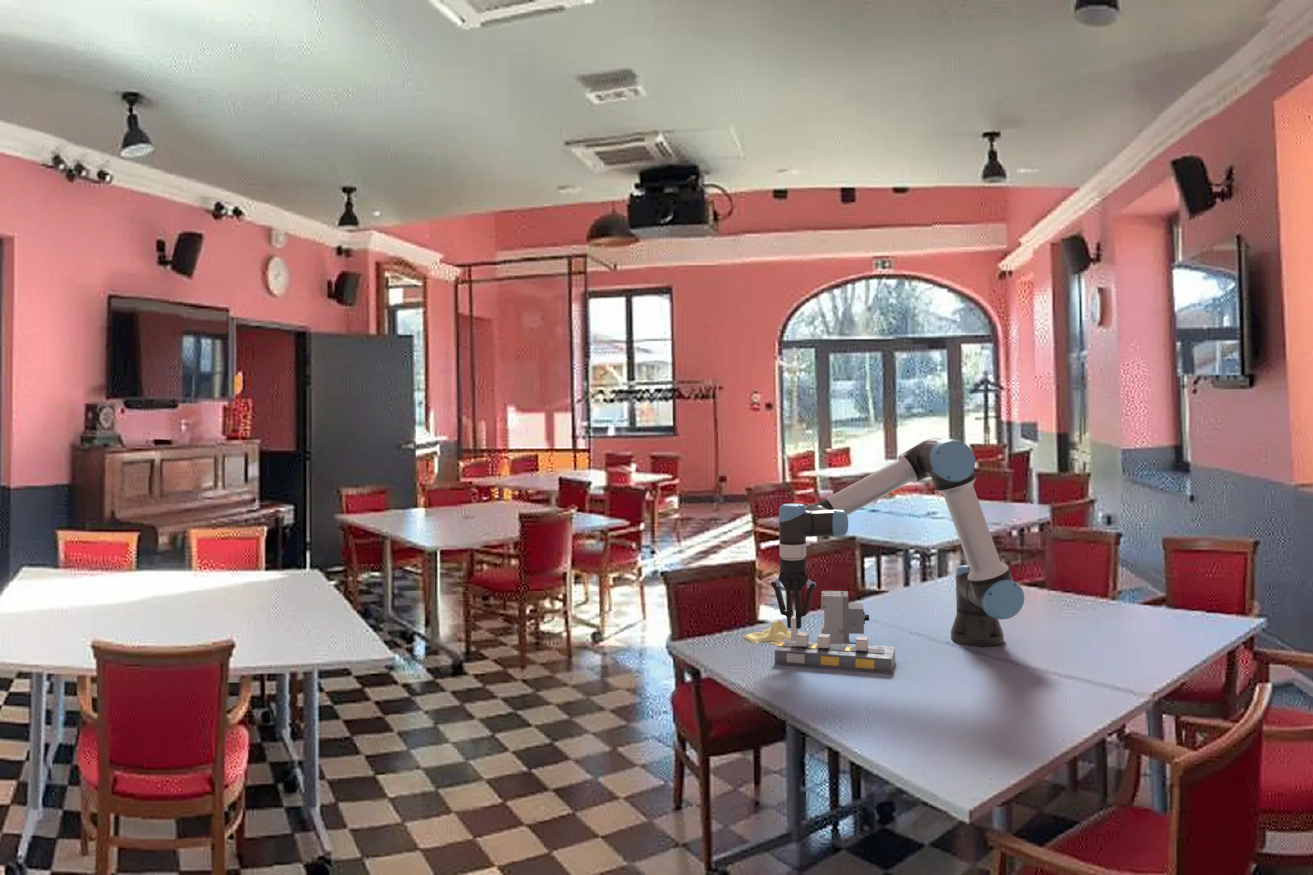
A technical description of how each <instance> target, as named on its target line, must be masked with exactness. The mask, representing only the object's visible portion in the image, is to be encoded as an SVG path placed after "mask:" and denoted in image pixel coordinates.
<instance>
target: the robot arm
mask: <svg viewBox="0 0 1313 875" xmlns="http://www.w3.org/2000/svg"><path fill="white" fill-rule="evenodd" d="M975 467H976V457H975V455H974V451H973V450H972V448H971V447H969V445H968V444H966V442H965V443H964V442H963V441H960V440H959V439H955V438H942V437H941V438H940V437H932V438H929V439H928V438H927V439H926V440H923V441H921V442H920V443H918V444H917V445H914V446H913V447H911V448H909V449H908V450H906V451H904V452H902V453H900V454H899V455H898V457H897V460H895V461H893V462H891V463H890V464H887V465H886V466H883V467H882V468H879V470H876V471H874V472H872V473H871V474H868V475H867V476H865V477H863V478H861V479H860V480H857V481H856V482H854V483H852V484H849V486H847V487H845V488H842V489H841V490H839V491H837V492H835V493H833V494H831V495H830V496H827V498H825V499H822V500H820V501H818V502H817V503H810V504H807V505H806V506H805V504H803V503H784V504H781V505H780V506H779V509H778V534H779V535H778V536H779V537H778V538H779V539H778V540H779V545H778V546H779V557H780V558H779V575H778V577H777V578H776V579H775V580H774V579H773V580H772V581H771V582H770V585H771V586H772V588H773V590H774V594H775V596H776V599H777V605H778V608H779V613H780V615H782V616H785V617H786V618H787V619H786V621H787V622H786V623H787V624H786V627H787V628H788V629H790V631H791V641H796V634H797V633H798V632H799V629H801V628H802V617H806V616H807V614H809V613H808V612H809V608H810V604H811V600H812V595H813V590H814V589H815V587H816V586H817V583H816V581H812V580H810V579H809V576H808V574H807V571H808V570H807V559H806V557H807V537H809V538H811V537H834V538H836V537H841V536H846V534H848V531H849V518H848V515H851V514H853V513H854V512H856V511H858V510H860V509H862V508H864V507H866V506H868V505H869V504H871V503H873V502H875V501H877V500H879V499H881V498H883V497H884V496H887V495H888V494H890V493H892V492H894V491H896V490H897V489H900V488H901V487H903V486H905V485H908V484H909V483H913V484H917V483H918V482H920V481H922V480H925V479H928V478H931V481H932V483H933V486H934V489H935V491H936V492H938V493H941V494H942V495H943V499H944V501H945V503H946V506H947V508H948V512H949V515H950V516H951V520H952V522H953V523H952V524H953V526H954V529H955V531H956V534H957V537H958V539H959V542H960V545H961V547H962V551H963V554H964V556H965V558H966V561H967V564H963V565H959V566H957V568H956V572H955V588H956V589H955V590H956V592H955V594H956V597H955V598H956V615H955V616H954V620H953V624H952V626H951V629H950V639H951V640H952V641H954V642H956V643H959V644H963V645H968V646H978V647H990V646H998V645H1001V644H1003V643H1004V641H1005V640H1004V639H1005V637H1004V635H1005V634H1004V632H1003V629H1002V625H1001V623H1000V620H1008V619H1011V618H1013V617H1015V616H1017V615H1018V614H1019V613H1020V611H1021V610H1022V608H1023V607H1024V603H1025V593H1024V590H1023V589H1022V587H1021V586H1020V585H1019V584H1018V583H1017V582H1016V581H1014V578H1013V576H1012V574H1011V571H1010V568H1009V566H1008V565H1007V564H1005V563H1003V562H1002V561H1001V560H1000V557H999V553H998V550H997V548H996V546H995V542H994V540H993V537H992V535H991V532H990V529H989V526H988V523H987V520H986V517H985V515H984V513H983V510H982V507H981V504H980V501H979V499H978V496H977V493H976V490H975V487H974V484H975V482H976V480H977V476H976V474H975V471H974V469H975ZM781 585H782V586H783V588H784V589H785V595H786V596H785V597H786V600H785V601H786V604H785V601H784V597H783V593H782V589H781ZM805 585H806V588H807V590H806V594H805V599H804V603H803V607H802V589H803V588H804V587H805ZM793 591H794V596H795V597H794V599H795V602H794V603H795V615H793V614H794V613H793Z"/></svg>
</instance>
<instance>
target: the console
mask: <svg viewBox="0 0 1313 875" xmlns="http://www.w3.org/2000/svg"><path fill="white" fill-rule="evenodd" d="M778 644H779V645H776V646H777V647H775V649H774V664H775V665H781V666H791V667H805V668H807V667H808V668H816V669H817V668H818V669H819V668H820V669H828V670H840V671H841V670H844V671H856V672H869V673H879V674H880V673H881V674H891V675H892V674H893V670H894V668H895V667H894V666H895V664H896V646H885V645H872V644H868V649H867V651H860V650H856V643H849V644H845V643H831V642H830V646H829V648H819V647H818V640H817V641H815V640H809V644H808V645H807V647H806V646H796V641H791V640H788V639H783V640H782V641H781V642H780V643H778Z"/></svg>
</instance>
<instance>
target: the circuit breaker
mask: <svg viewBox="0 0 1313 875" xmlns="http://www.w3.org/2000/svg"><path fill="white" fill-rule="evenodd" d="M820 610H821V611H823V612H824V613H823V614H824V617H823V618H824V623H821V634H830V642H831V643H845V644H850V634H856V635H857V634H859V635H863V634H865V623H866V622H869V621H870V615H869V614H866V613H865V611H864V605H863V603H854V602H853V603H852V602H851V603H850V602H849V592H848V590H845V591H844V590H822V591H821V596H820Z"/></svg>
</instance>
